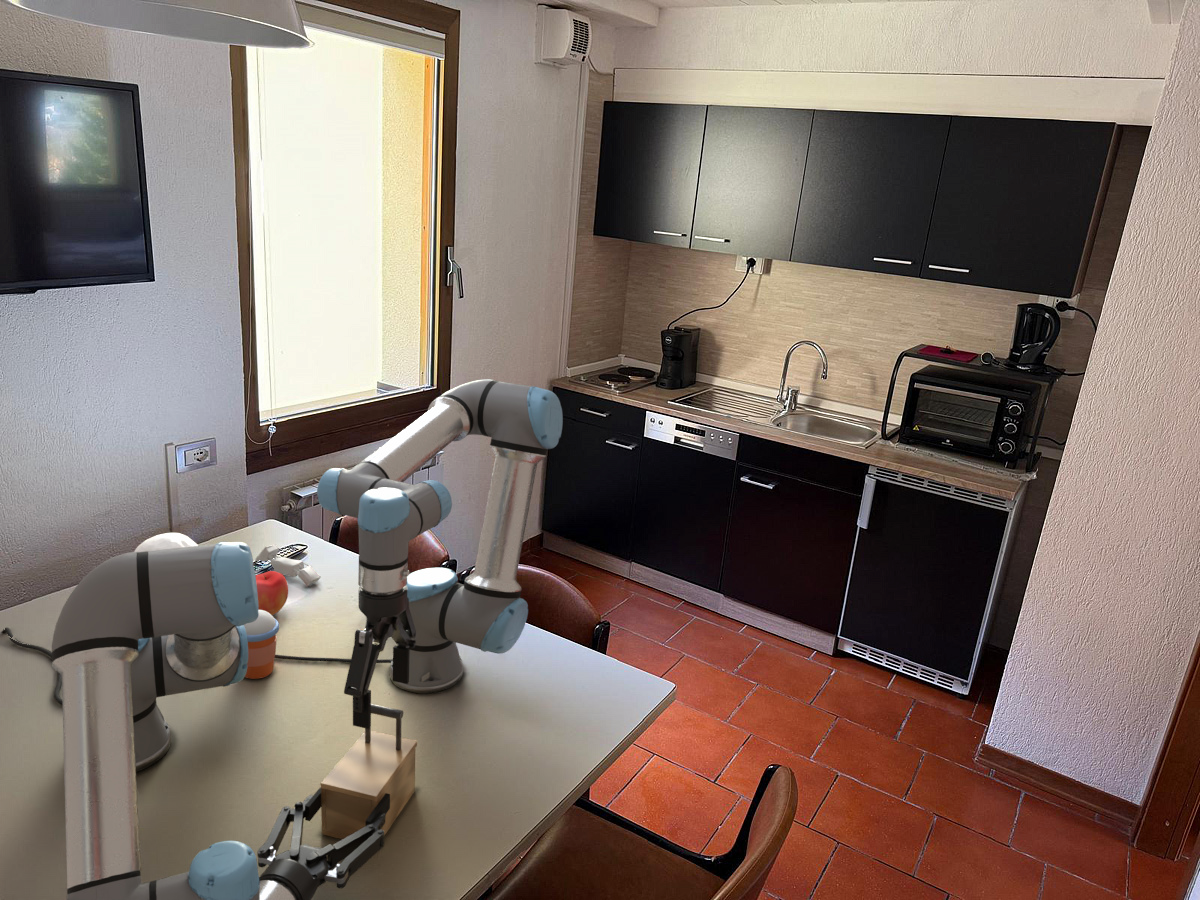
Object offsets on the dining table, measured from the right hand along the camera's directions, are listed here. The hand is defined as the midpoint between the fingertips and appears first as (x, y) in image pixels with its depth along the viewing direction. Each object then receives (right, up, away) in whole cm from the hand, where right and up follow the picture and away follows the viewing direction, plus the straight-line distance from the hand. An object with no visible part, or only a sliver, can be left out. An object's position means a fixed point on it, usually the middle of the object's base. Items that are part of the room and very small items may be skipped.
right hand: (382, 702), depth 141 cm
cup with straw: (-36, -5, +37) cm, 52 cm away
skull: (-66, +6, +64) cm, 92 cm away
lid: (-2, -10, -1) cm, 10 cm away
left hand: (-3, -13, -4) cm, 14 cm away
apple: (-42, +3, +60) cm, 73 cm away
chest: (-2, -19, +1) cm, 19 cm away
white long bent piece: (-45, +9, +80) cm, 92 cm away
